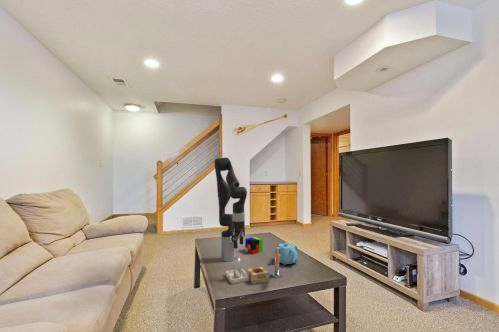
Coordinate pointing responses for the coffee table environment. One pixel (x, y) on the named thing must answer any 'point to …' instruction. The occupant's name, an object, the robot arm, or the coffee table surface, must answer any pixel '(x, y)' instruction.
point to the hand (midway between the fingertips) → (238, 246)
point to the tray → (233, 280)
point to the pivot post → (277, 272)
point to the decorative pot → (287, 253)
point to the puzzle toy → (254, 245)
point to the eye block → (258, 275)
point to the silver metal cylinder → (237, 267)
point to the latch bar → (277, 256)
